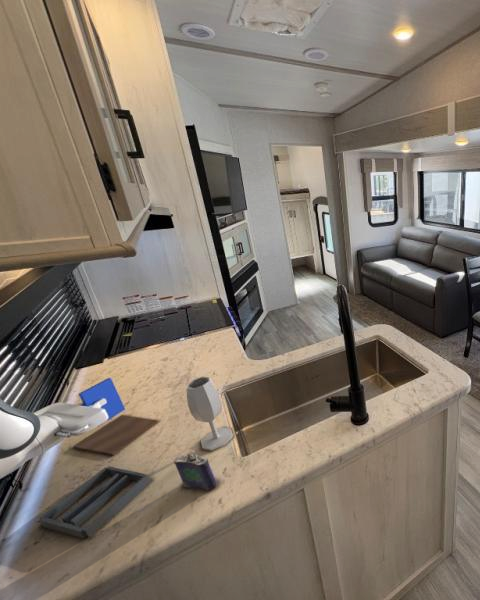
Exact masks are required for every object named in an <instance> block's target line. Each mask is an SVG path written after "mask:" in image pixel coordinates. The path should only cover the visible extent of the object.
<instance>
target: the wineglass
mask: <svg viewBox="0 0 480 600" xmlns="http://www.w3.org/2000/svg"><path fill="white" fill-rule="evenodd" d="M185 393H186V394H185V395H186V399H187V406H188V409H189V412H190V416H192V417H193V419H194V420H195V421H196V422H201V423H208V425H209V428H210V430H211V431H209V433H208V434H207V435H205V436H204V437H203V438H202V439H201V440H200V445H201V449H202V450H205V451H209V452H213V451H215V450H217V449H219V448H221V447H224V446H225V445H226V444H227V443H229V441H230V440H232V438H233V437H234V434H233V431H232V429H231V428H228V427H222V426H221V427H220V428H217V425H216V422H215V420H216V419H217V418H218V417H219V415H220V414H221V413H222V407H223V405H222V404H223V403H222V400H221V397H220V395H219V390H218V389H217V387H216V385H215V383H214V382H213V381H212V379H211V378H210V377H209V376H200V377H197V378H194V379H192V380H190V381H189V382H187V383H186V385H185Z"/></svg>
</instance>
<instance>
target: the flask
mask: <svg viewBox="0 0 480 600" xmlns="http://www.w3.org/2000/svg"><path fill="white" fill-rule="evenodd" d="M194 453H195V451H194V450H190V451H189V452H188V453H187V454H182V455H178V456H177V457H176V458H174V460H173V463H174V465H175V467H176V470H177V472H178V474H179V476H180V480H181V483H182V486H183V487H184V488H189V489H190V488H191V489H192V488H196V489H202V490H205V491H208V492H209V491H210V492H211V491H213V490H214V489H216V487H218V482H217V480H216V477H215V475H214V472H213V470H212V468H211V465H210V462H209V459H208V458H207V457H204V456H202V455H197V454H194Z"/></svg>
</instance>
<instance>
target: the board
mask: <svg viewBox="0 0 480 600" xmlns="http://www.w3.org/2000/svg"><path fill="white" fill-rule="evenodd" d="M156 424H158V420H157V419H151V418H144V417H136V416H130V415H124V414H121V415H119V416H118V417H116V418H114V419H113V420H111V421H110V422H109V423H107V424H106V425H103V426H102V427H101V428H99V429H98V430H96V431H95V432H92V434H90V435H88V436H86V438H84V439H82V440H81V441H79V442H78V443H76V444H75V445H73V449H77V450H82V451H87V452H93V453H97V454H103V455H107V456H115V455H116V454H118V453H119V452H120V451H121V450H123V449H124V448H125V447H127V446H128V445H130V444H131V443H132V442H134V441H135V440H137V439H138V438H139V437H140V436H142V435H143V434H145V433H146V432H147V431H148V430H150V429H151V428H152V427H154V426H155V425H156Z"/></svg>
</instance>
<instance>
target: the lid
mask: <svg viewBox="0 0 480 600" xmlns="http://www.w3.org/2000/svg"><path fill="white" fill-rule="evenodd" d="M78 397H79V398H80V400H81V403H82V402H83V404H84V406H87V407H88V406H90V405H93V404H94V403H96V402H95V401H96V400H98V399H100V398H104V399H106V401H107V403H106V404H104V405H103V406H101V407H100V408H102V409H105V410H106V412H107V414H108V417H109V418H108V419H107V421H106V422H108V421H110V420H111V419H113V418H114V417H116V416H117V415H119V414H120V413H122V412H124V411H125V410H126V408H125V406H124V404H123V401H122V399H121V397H120V395H119V392H118V390H117V389H116V386H115V384H114V382H113V380H112V378H110V377H107V378H106V379H103V380H102V381H100V382H98V383H95V384H94V385H92V386H91V387H88V388H86V389H84V390H83V391H81V392H79V393H78ZM106 422H104V423H102V424H101V425H99V426H97V427H96V428H99V427H101V426H102V425H104V424H105V423H106Z"/></svg>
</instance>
